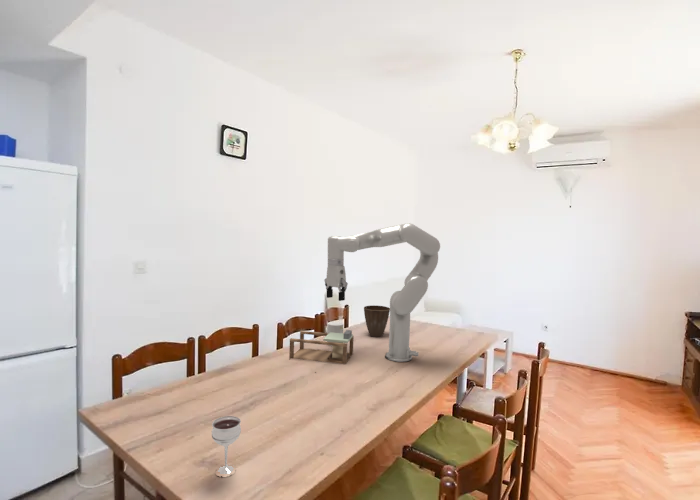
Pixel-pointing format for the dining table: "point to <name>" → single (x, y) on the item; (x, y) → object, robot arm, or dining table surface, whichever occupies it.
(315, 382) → the dining table surface
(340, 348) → the maple block
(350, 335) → the lid
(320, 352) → the wooden table frame
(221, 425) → the wineglass
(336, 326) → the cup
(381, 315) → the plant pot
